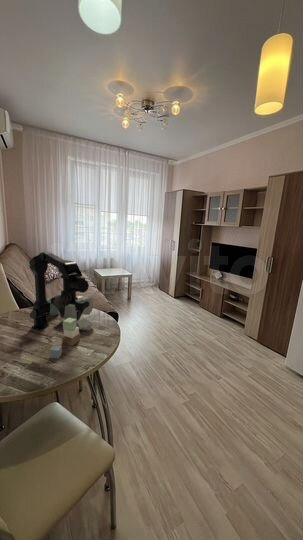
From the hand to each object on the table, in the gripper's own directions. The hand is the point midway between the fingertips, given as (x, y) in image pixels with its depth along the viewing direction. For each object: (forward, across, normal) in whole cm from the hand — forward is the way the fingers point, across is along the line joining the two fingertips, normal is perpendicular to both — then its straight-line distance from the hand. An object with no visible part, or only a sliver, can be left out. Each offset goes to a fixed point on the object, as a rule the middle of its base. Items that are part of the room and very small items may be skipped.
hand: (70, 318), depth 109 cm
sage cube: (+5, 0, 0) cm, 5 cm away
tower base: (+13, 0, 0) cm, 13 cm away
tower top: (+9, 0, 0) cm, 9 cm away
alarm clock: (+13, -16, +25) cm, 32 cm away
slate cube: (+13, +2, -12) cm, 18 cm away
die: (+13, -2, +15) cm, 20 cm away
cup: (+13, -32, +22) cm, 41 cm away
